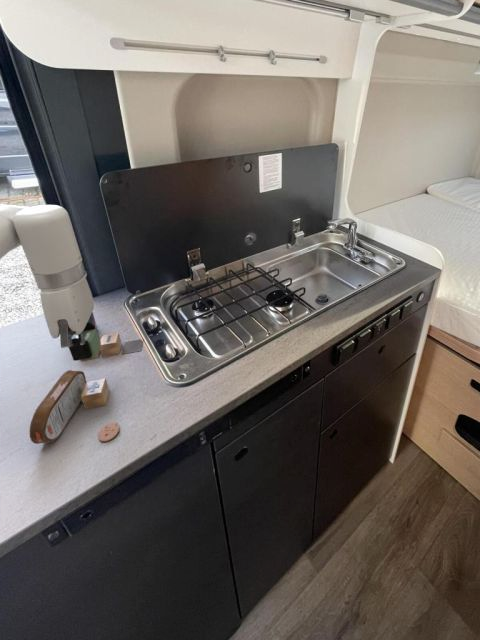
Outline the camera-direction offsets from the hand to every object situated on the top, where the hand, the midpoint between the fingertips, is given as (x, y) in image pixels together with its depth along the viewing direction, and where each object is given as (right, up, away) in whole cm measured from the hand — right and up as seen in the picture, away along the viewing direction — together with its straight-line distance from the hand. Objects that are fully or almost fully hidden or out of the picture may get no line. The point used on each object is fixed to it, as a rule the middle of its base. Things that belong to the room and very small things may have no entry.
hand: (86, 349), depth 67 cm
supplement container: (-17, -5, +26) cm, 31 cm away
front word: (-2, -14, +7) cm, 15 cm away
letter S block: (0, -1, 0) cm, 1 cm away
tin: (-6, -16, +3) cm, 17 cm away
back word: (-6, -7, +21) cm, 23 cm away
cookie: (+5, -17, 0) cm, 18 cm away
